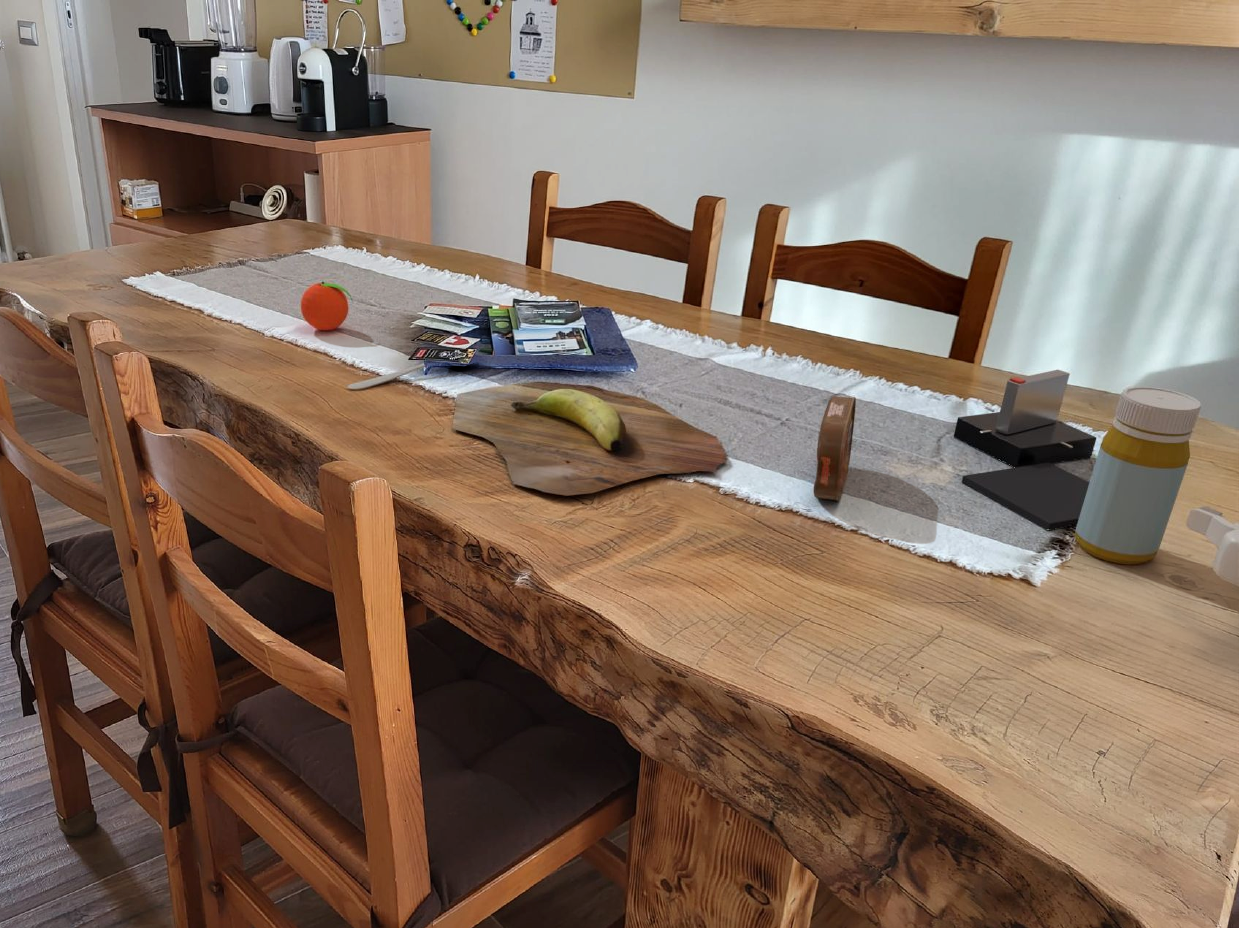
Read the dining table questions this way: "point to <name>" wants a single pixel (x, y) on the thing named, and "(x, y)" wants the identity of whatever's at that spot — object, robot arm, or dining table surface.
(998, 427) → the tap lever
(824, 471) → the tin
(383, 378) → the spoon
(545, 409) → the cutting board
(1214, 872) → the dining table surface
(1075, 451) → the base
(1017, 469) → the mat
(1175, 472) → the bottle
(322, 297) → the clementine
